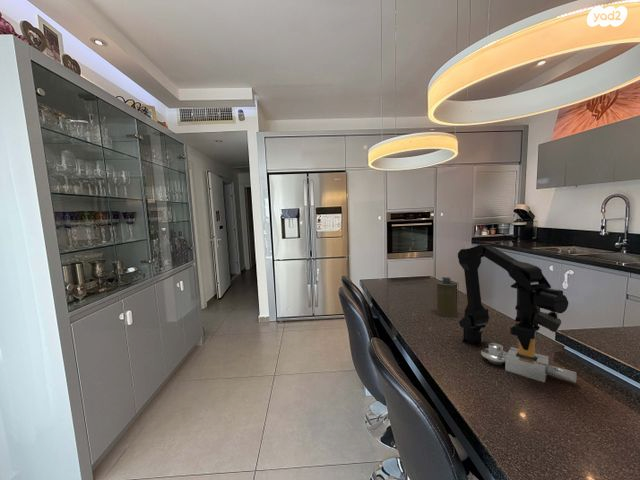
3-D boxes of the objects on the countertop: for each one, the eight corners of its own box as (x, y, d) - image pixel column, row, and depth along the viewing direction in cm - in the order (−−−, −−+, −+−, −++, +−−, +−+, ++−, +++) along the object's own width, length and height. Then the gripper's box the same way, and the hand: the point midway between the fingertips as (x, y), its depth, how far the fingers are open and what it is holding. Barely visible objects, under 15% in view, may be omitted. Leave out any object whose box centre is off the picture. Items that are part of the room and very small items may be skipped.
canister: (435, 315, 146) (434, 278, 144) (438, 309, 154) (438, 275, 153) (457, 318, 140) (457, 280, 138) (459, 312, 148) (459, 276, 147)
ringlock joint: (478, 362, 98) (478, 346, 97) (485, 352, 104) (485, 337, 103) (575, 392, 79) (575, 372, 79) (576, 378, 86) (577, 360, 85)
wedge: (518, 353, 91) (518, 330, 91) (519, 351, 93) (520, 328, 92) (533, 357, 88) (533, 334, 88) (534, 354, 90) (535, 331, 90)
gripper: (556, 316, 77) (555, 368, 78) (561, 301, 90) (560, 345, 91) (510, 308, 85) (509, 356, 86) (521, 295, 98) (520, 336, 99)
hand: (526, 348), depth 91 cm, fingers closed on wedge, 2 cm apart
